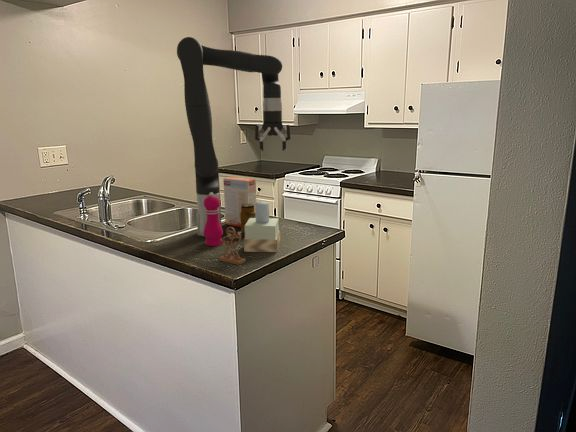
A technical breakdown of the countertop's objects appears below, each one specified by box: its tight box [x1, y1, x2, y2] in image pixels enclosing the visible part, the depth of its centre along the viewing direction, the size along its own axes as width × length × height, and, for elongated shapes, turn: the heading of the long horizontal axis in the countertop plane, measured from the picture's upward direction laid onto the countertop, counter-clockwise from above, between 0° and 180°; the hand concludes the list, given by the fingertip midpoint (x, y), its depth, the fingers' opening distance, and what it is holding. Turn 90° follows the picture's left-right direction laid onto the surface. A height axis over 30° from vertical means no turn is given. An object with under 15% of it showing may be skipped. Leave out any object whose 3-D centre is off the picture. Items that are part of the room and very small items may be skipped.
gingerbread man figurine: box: [218, 226, 247, 266], centre depth 147 cm, size 9×4×12 cm, turn 58°
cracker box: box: [223, 176, 257, 228], centre depth 189 cm, size 14×6×21 cm, turn 53°
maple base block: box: [243, 230, 281, 253], centre depth 162 cm, size 12×12×5 cm
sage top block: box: [244, 217, 280, 240], centre depth 161 cm, size 11×11×5 cm
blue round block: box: [255, 201, 270, 224], centre depth 160 cm, size 5×5×7 cm
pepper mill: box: [203, 192, 224, 247], centre depth 164 cm, size 7×7×20 cm
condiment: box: [236, 204, 256, 238], centre depth 178 cm, size 7×8×12 cm
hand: (273, 150), depth 178 cm, fingers open, 8 cm apart
